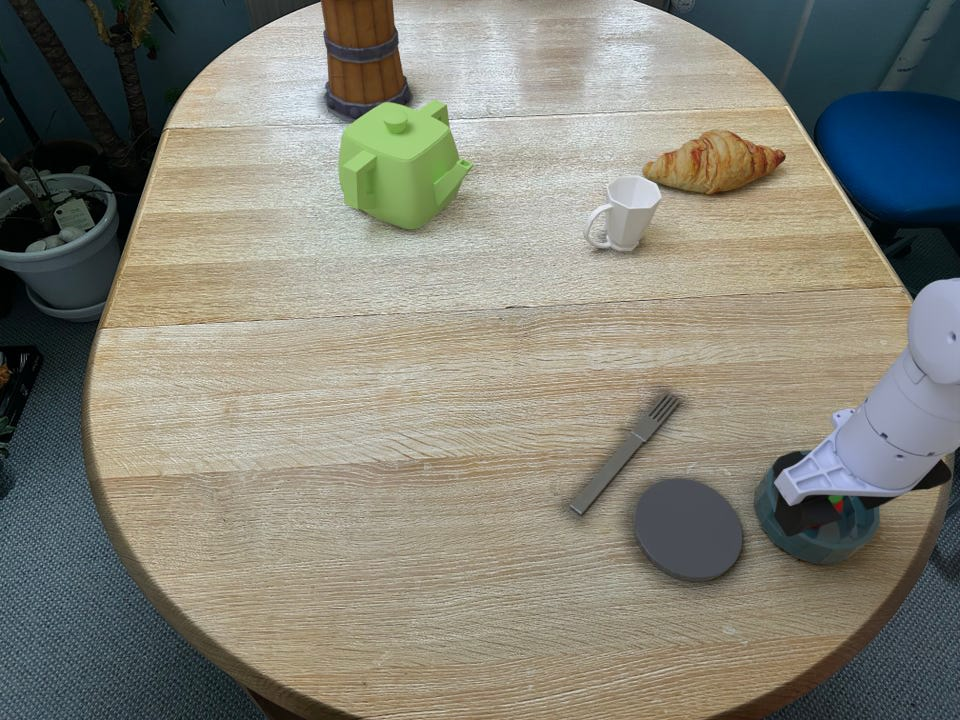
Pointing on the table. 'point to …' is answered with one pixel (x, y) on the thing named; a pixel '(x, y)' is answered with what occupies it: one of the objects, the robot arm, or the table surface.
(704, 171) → the croissant
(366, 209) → the teapot
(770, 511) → the bowl
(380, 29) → the mug
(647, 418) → the fork
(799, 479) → the robot arm
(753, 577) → the table surface
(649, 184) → the cup
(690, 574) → the plate
